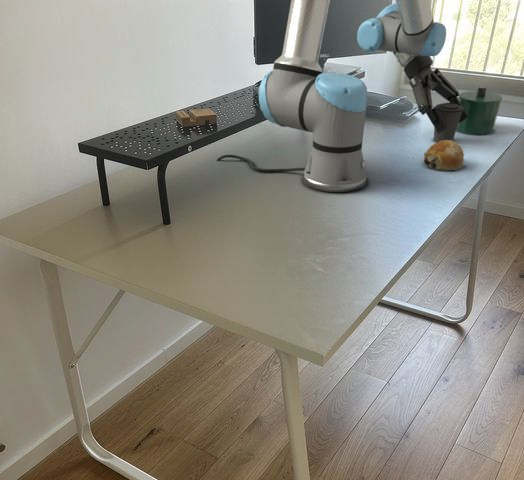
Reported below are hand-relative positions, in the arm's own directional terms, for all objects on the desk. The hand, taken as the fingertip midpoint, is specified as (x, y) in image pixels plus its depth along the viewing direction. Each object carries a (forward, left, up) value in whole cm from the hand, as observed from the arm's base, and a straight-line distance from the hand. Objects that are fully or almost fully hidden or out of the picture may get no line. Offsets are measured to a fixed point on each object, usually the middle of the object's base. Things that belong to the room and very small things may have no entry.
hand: (453, 125), depth 157 cm
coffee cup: (-2, 0, -5) cm, 6 cm away
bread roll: (+4, -20, -5) cm, 21 cm away
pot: (+2, +16, -5) cm, 17 cm away
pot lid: (+2, +16, +4) cm, 17 cm away
